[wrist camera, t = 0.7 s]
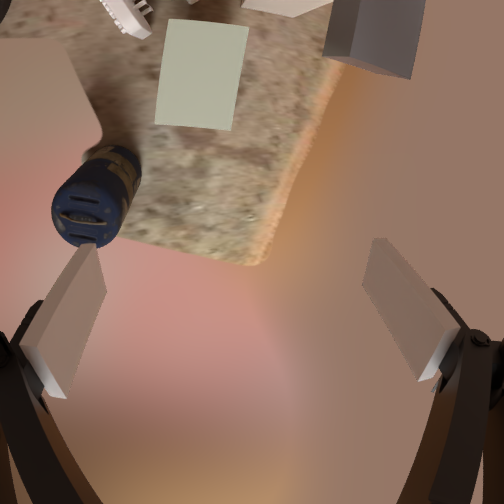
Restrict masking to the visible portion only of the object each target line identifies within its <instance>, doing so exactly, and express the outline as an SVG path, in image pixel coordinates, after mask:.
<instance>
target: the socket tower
mask: <svg viewBox="0 0 504 504" xmlns="http://www.w3.org/2000/svg"><path fill="white" fill-rule="evenodd" d="M333 1H334V0H242V3H241V7H242V8H248V9H254V10H259V11H264V12H270V13H274V14H279V15H284V16H288V17H292V18H294V17H296V16H299V15H301V14H303V13H306V12H308V11H310V10H313V9H315V8H318V7H320V6H323V5H325V4H328V3H331V2H333Z"/></svg>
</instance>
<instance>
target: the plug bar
mask: <svg viewBox="0 0 504 504" xmlns="http://www.w3.org/2000/svg"><path fill="white" fill-rule="evenodd" d="M425 1H426V0H334V1H333V6H332V11H331V16H330V21H329V26H328V31H327V36H326V41H325V45H324V50H323V55H322V56H323V57H326V58H330V59H333V60H337V61H340V62H343V63H347V64H350V65H353V66H356V67H359V68H362V69H365V70H368V71H371V72H374V73H376V74H382V75H388V76H394V77H399V78H404V79H409V80H410V79H411V74H412V70H413V66H414V61H415V56H416V51H417V46H418V42H419V36H420V31H421V25H422V20H423V14H424V8H425Z"/></svg>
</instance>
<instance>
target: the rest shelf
mask: <svg viewBox="0 0 504 504" xmlns="http://www.w3.org/2000/svg"><path fill="white" fill-rule="evenodd" d="M248 31H249V27H245V26H238V25H231V24H224V23H215V22H206V21H195V20H181V19H169V22H168V27H167V33H166V39H165V45H164V51H163V58H162V65H161V72H160V79H159V87H158V96H157V104H156V114H155V124H161V125H176V126H189V127H201V128H211V129H220V130H229V131H231V126H232V120H233V114H234V108H235V102H236V96H237V90H238V85H239V79H240V74H241V68H242V63H243V57H244V52H245V47H246V42H247V37H248Z"/></svg>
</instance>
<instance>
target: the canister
mask: <svg viewBox="0 0 504 504" xmlns="http://www.w3.org/2000/svg"><path fill="white" fill-rule="evenodd" d="M141 176H142V174H141V167H140V164H139V161H138V159H137V158H136V156H135V155H134V154H133V153H132V152H131V151H129V150H128V149H126V148H124V147H120V146H107V147H104V148H101V149H99V150H98V151H97V152H95V153H94V154H93V155H92V156H91V157H90V158H89V159H88V160H87V161H86V162H85V163H84V164H83V165H82V166H80V168H78V169H77V171H76V172H75V173H74V174H73V175H72V176H71V177H70V178H69V179H68V180H67V181H66V182H65V183H64V184H63V185H62V186H61V187H60V188H59V189H58V191H57V192H56V194H55V197H54V199H53V202H52V207H51V214H52V220H53V223H54V226H55V228H56V230H57V231H58V233H59V234H60V235H61V236H62V238H63V239H64V240H66V241H67V242H68V243H70V244H72V245H74V246H76V247H80V245H81V244H93V243H96V248H100V247H103V246H105V245H107V244H108V243H110V242H111V241H112V240H113V239H114V238H115V236H116V235H117V234H118V232H119V230H120V228H121V226H122V223H123V221H124V219H125V217H126V214H127V212H128V210H129V208H130V206H131V203H132V200H133V198H134V196H135V194H136V192H137V189H138V187H139V185H140V182H141Z"/></svg>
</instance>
